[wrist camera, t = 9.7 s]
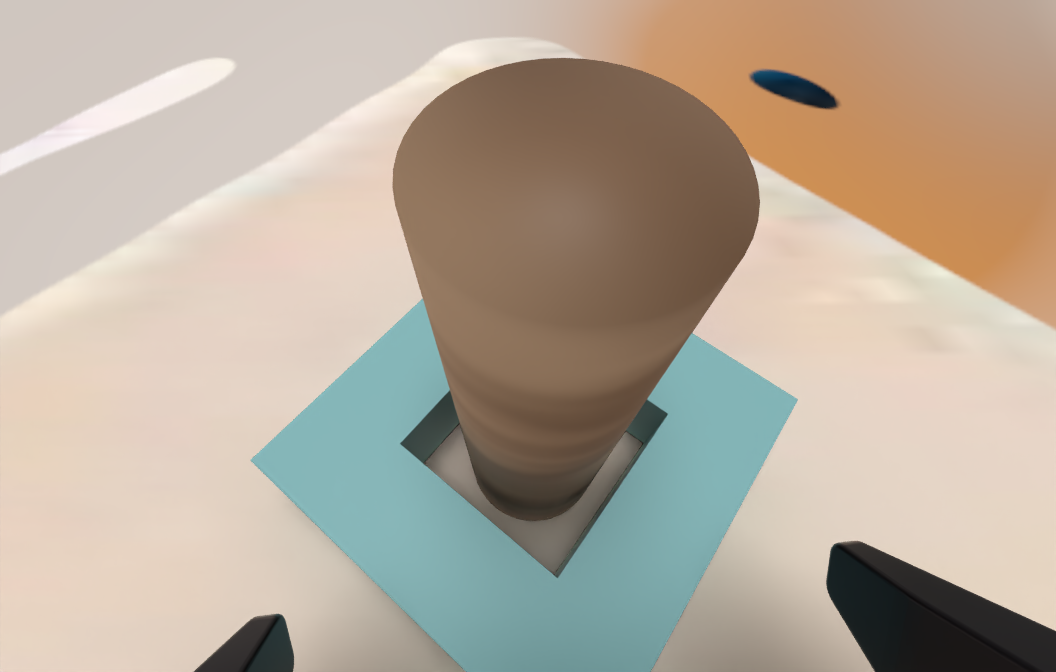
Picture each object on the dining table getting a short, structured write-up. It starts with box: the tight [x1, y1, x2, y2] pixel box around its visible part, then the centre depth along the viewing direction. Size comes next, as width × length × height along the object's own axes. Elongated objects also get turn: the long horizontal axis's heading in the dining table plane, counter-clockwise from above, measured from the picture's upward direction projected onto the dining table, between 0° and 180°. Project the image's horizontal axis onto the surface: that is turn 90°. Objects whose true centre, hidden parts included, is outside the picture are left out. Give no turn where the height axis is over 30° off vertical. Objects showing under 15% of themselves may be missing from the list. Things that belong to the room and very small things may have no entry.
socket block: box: [251, 299, 798, 672], centre depth 15 cm, size 11×11×3 cm
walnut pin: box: [393, 58, 760, 521], centre depth 11 cm, size 4×4×12 cm
